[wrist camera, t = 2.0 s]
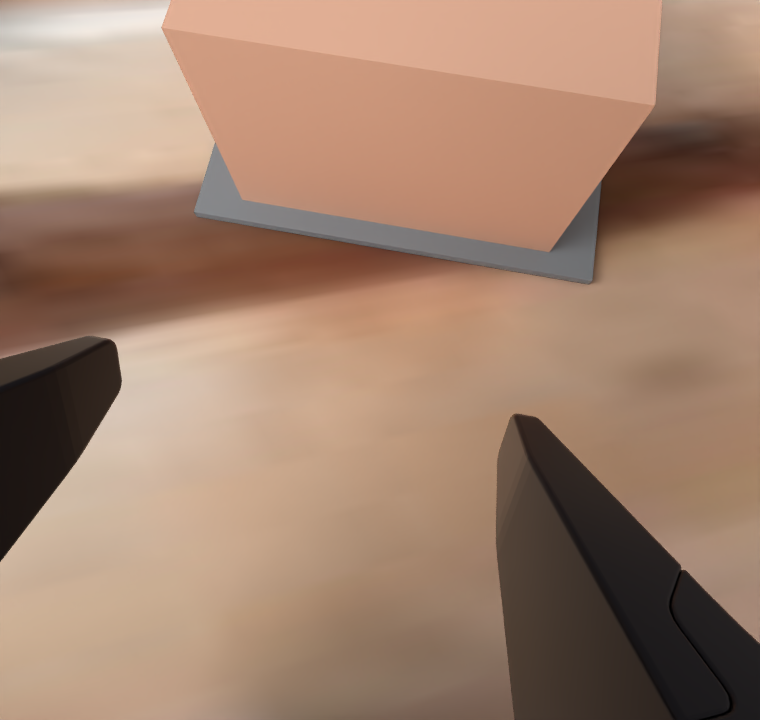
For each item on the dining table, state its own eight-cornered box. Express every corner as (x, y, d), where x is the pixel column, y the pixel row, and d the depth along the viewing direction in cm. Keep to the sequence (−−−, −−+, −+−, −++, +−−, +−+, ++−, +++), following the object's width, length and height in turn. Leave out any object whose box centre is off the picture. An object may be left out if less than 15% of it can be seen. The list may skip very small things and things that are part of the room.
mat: (588, 284, 23) (592, 280, 22) (197, 216, 24) (193, 211, 23) (624, -99, 28) (628, -107, 28) (306, -144, 29) (305, -152, 29)
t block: (549, 252, 23) (655, 105, 14) (242, 199, 23) (161, 27, 15) (576, 19, 26) (676, -219, 17) (304, -22, 26) (268, -273, 18)
